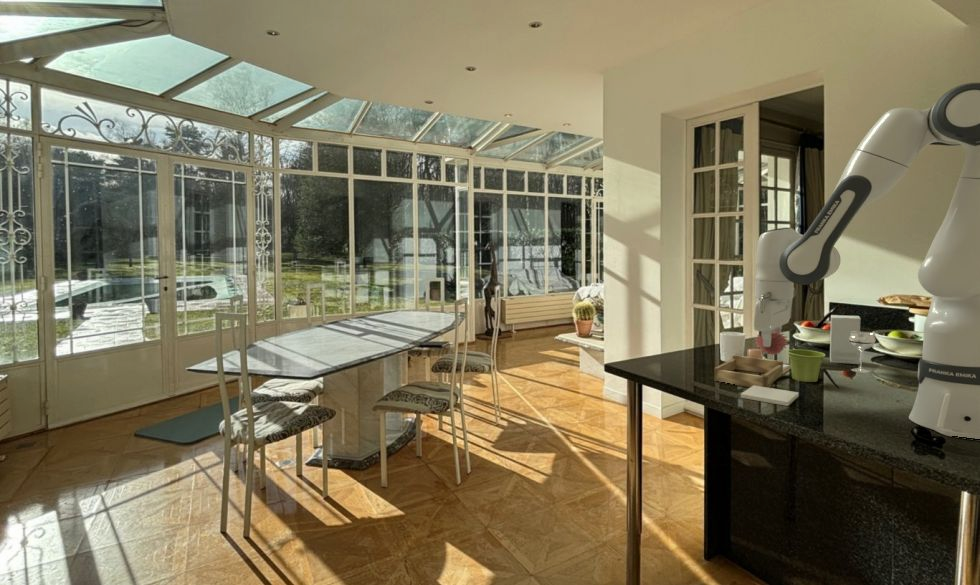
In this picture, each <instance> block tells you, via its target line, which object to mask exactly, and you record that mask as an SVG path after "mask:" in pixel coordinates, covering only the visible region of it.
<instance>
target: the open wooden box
mask: <svg viewBox="0 0 980 585" xmlns="http://www.w3.org/2000/svg"><path fill="white" fill-rule="evenodd" d="M783 363H784V361H782V360H777V359H776V360H775V359H768V358H767V359H766V358H762V359H760V358H752V357H747V356H745V355H744V356H737V355H733V359H731V360H729V361H727V362H725V361H724V363H721V364H720V365H718V366H715V367H713V368H714V371H713V382H715V381H719V382H718V383H721V382H725V383H724V384H727V383H730V384H729V385H733V384H735V385H734V386H739V385H740V386H741V387H745V388H746V387H747V388H750V387H752V386H753V385H755V386H761V387H767V388H772V386H774V385H775V383H774V382H775V381H776V380H779V378H781V377H782V376H784V374H783ZM735 370H740V371H746V372H747V371H748V372H753V373H759V374H760V373H761V374H763V375H759V374H758V375H757V374H751V373H746V372H745V373H744V372H737V371H735Z"/></svg>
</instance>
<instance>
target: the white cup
mask: <svg viewBox="0 0 980 585" xmlns="http://www.w3.org/2000/svg"><path fill="white" fill-rule="evenodd" d="M745 346H746V333H744V332H740V331H739V332H736V331H722V332H720V333H719V349H720V351H719V353H720V360H721V361H723V362H724V363H725V362H727V361H729V360H731V359H733V355H737V356H745V355H744V354H745Z"/></svg>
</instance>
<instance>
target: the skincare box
mask: <svg viewBox="0 0 980 585" xmlns="http://www.w3.org/2000/svg"><path fill="white" fill-rule="evenodd" d="M861 320H862V318H861V317H860V316H859V315H839V314H831V315H830V332H829V333H830V338H829V340H830V341H829V342H830V343H829V344H830V345H829V360H830V361H829V362H830V363H836V364H848V365H852V364H853V365H860V351H859V350H858V349H857V348H855V347H854V346H853V345H852V344H851V343H850V341H849V336H850V335H851V334H850V332H851V331H861Z"/></svg>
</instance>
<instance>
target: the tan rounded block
mask: <svg viewBox="0 0 980 585" xmlns="http://www.w3.org/2000/svg"><path fill="white" fill-rule="evenodd" d="M746 352H747V353H746V355H747V356H746V357H752V358H760V359H763V352H764V351H763V350H762V349H760V348H747V350H746Z"/></svg>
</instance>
